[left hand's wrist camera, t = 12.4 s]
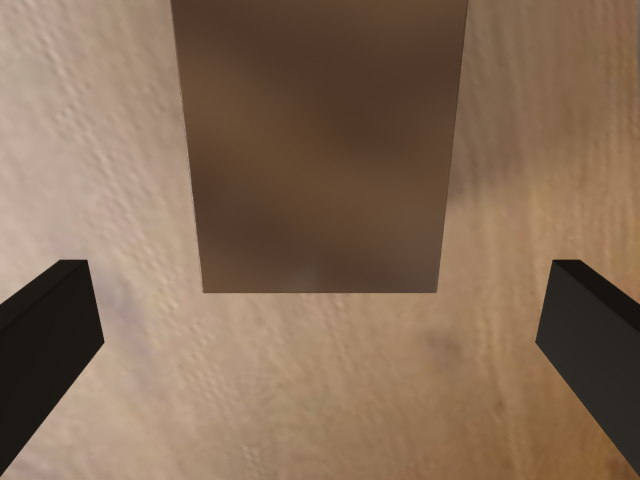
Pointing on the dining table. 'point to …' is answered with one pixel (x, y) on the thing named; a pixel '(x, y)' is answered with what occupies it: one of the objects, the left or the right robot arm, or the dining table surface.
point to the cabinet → (319, 140)
